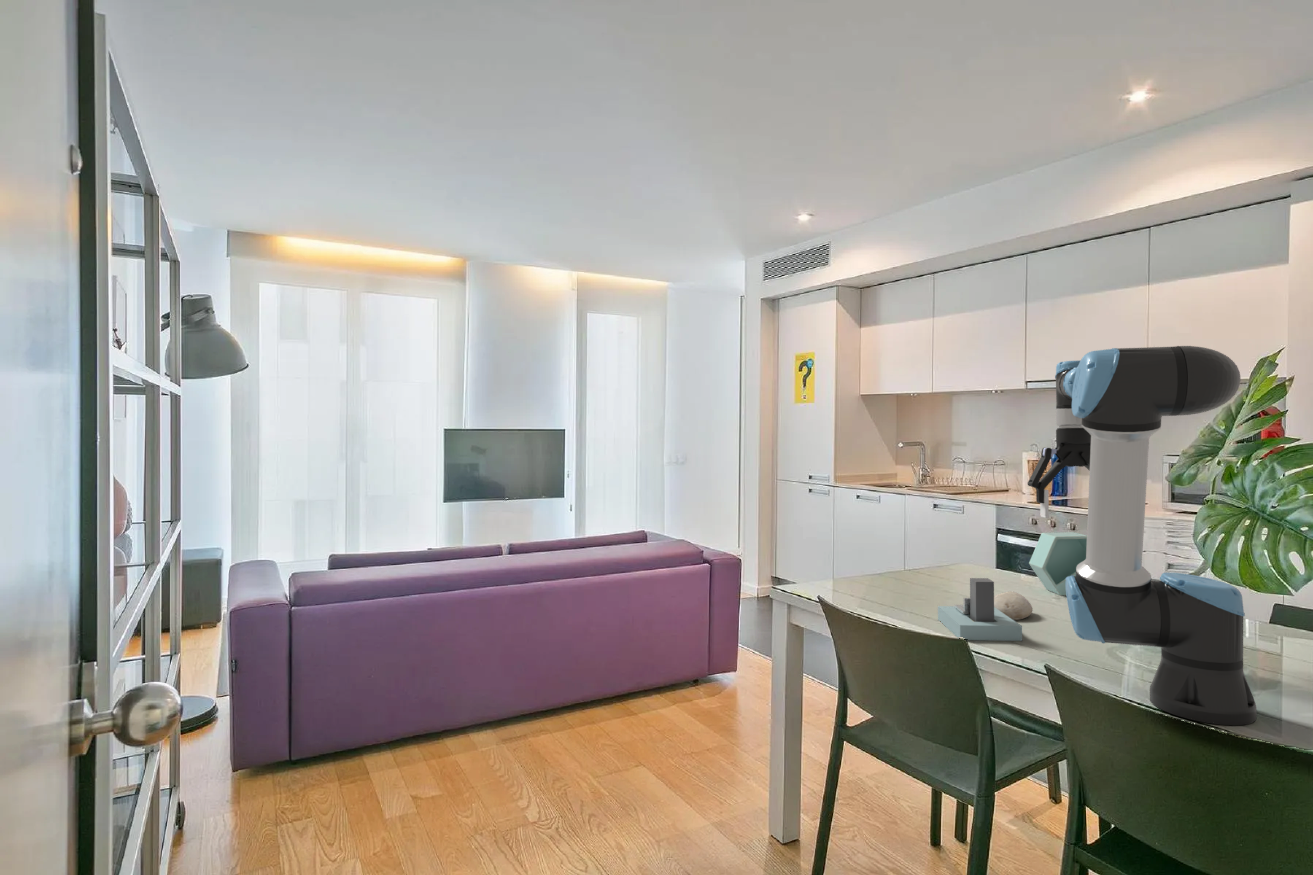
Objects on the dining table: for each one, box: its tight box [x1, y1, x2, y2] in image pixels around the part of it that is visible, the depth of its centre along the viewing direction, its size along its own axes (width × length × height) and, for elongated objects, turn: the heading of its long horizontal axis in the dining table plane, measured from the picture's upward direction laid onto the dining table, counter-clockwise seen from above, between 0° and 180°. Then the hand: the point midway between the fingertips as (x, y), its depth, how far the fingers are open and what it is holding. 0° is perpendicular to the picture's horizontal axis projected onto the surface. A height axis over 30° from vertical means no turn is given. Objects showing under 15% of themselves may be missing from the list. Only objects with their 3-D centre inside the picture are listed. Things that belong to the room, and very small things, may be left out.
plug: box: [969, 577, 995, 622], centre depth 175 cm, size 4×4×13 cm
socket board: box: [937, 605, 1023, 642], centre depth 178 cm, size 18×14×4 cm
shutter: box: [953, 597, 970, 614], centre depth 182 cm, size 7×7×4 cm
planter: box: [1028, 531, 1087, 596], centre depth 216 cm, size 17×8×21 cm
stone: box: [994, 590, 1033, 621], centre depth 191 cm, size 13×10×8 cm
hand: (1074, 517), depth 169 cm, fingers open, 13 cm apart
